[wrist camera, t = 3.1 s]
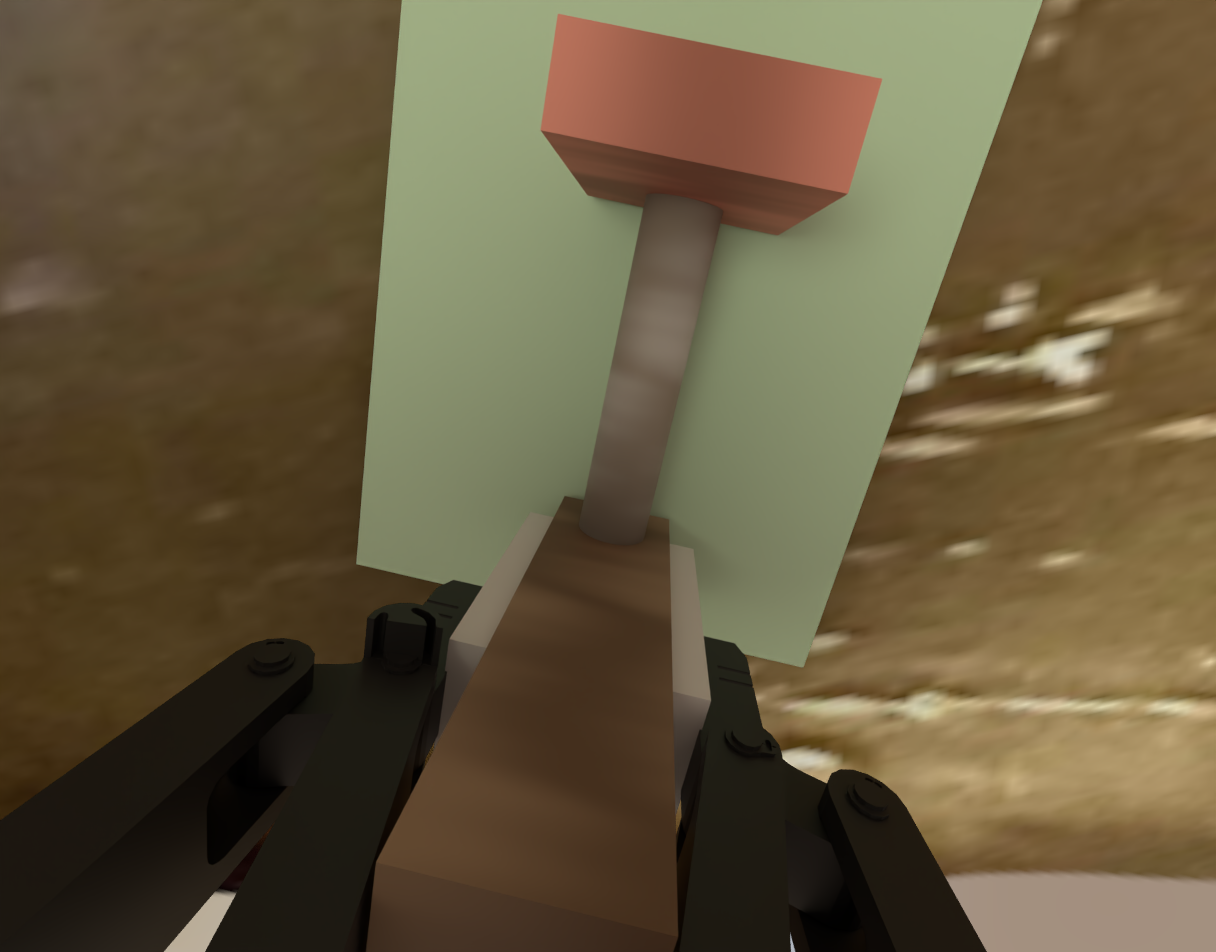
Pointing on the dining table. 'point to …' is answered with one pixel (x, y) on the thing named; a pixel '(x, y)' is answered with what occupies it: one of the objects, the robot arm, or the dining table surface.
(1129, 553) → the dining table surface
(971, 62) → the mat
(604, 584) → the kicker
